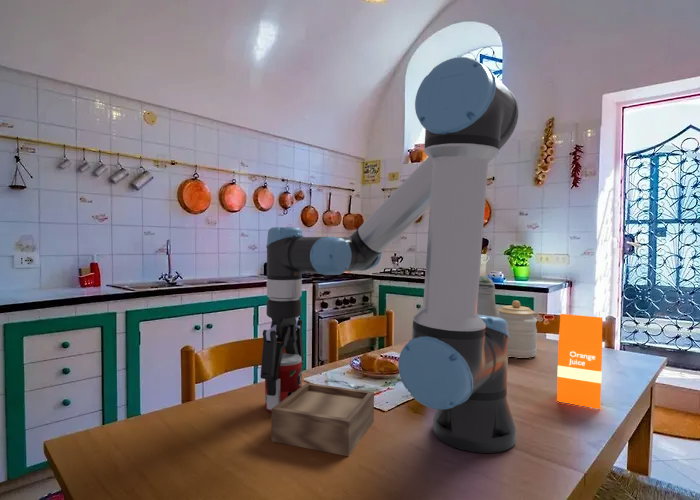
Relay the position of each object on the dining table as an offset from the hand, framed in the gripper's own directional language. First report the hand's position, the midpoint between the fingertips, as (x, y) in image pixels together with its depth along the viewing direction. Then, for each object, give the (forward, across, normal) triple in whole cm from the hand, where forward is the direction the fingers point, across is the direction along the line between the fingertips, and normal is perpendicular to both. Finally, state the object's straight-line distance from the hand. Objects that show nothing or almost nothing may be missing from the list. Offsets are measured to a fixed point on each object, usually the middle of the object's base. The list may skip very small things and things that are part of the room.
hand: (283, 401), depth 94 cm
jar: (+1, -67, +49) cm, 83 cm away
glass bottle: (+1, -31, +39) cm, 50 cm away
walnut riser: (+1, +7, +13) cm, 15 cm away
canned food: (+1, 0, 0) cm, 1 cm away
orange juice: (+1, -29, +62) cm, 68 cm away
